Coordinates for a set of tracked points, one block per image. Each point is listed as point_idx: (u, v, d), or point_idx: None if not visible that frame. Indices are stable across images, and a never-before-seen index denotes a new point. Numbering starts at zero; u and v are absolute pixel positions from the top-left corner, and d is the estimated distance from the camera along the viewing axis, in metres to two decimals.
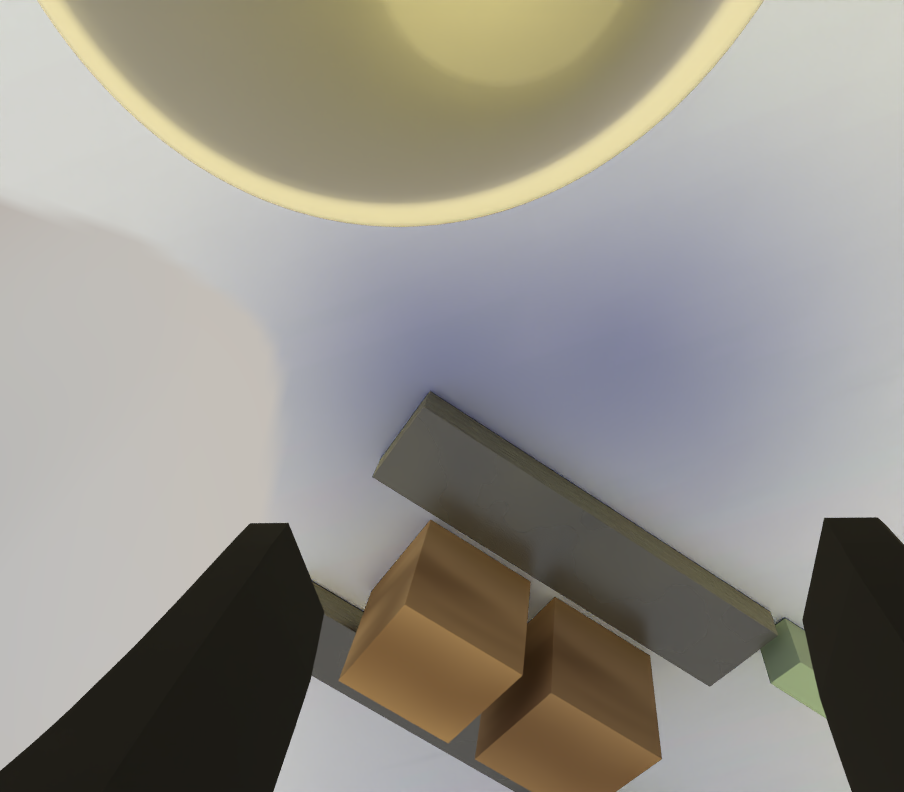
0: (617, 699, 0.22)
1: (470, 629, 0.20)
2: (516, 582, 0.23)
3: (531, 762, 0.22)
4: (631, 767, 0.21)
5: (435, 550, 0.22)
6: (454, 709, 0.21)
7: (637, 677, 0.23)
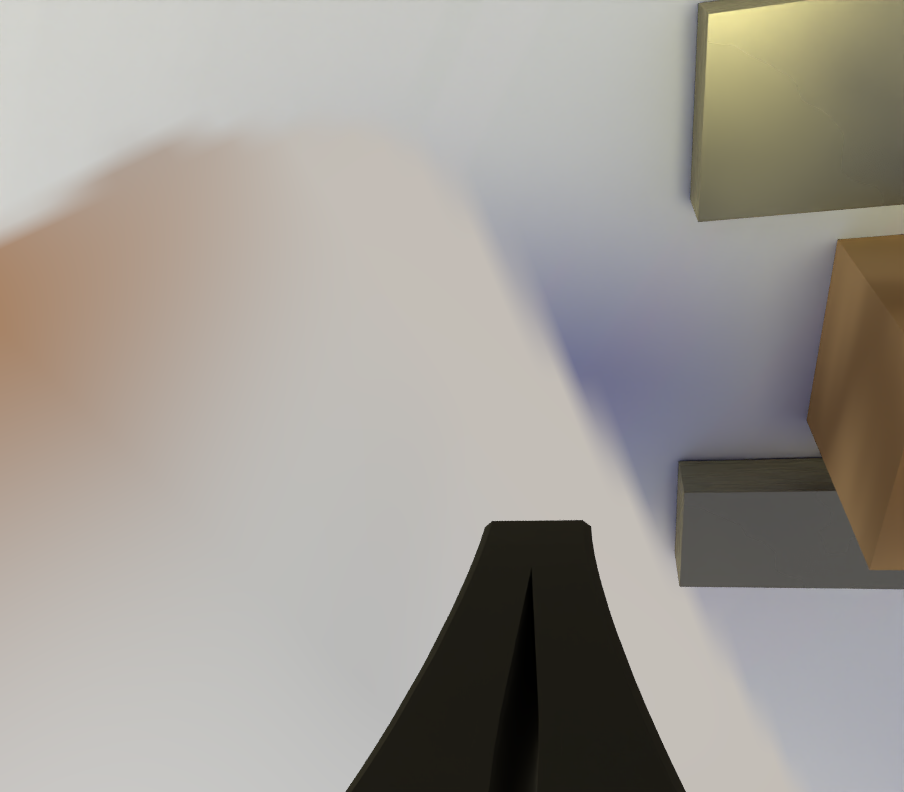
0: None
1: None
2: None
3: None
4: None
5: (891, 269, 0.11)
6: None
7: None
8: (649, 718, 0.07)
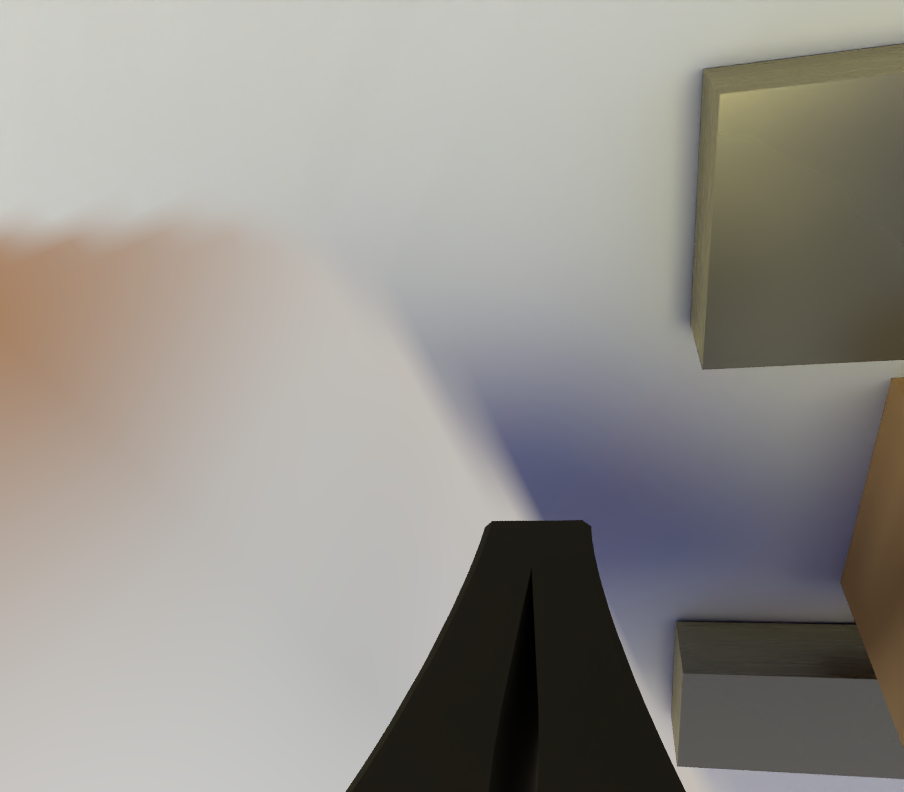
0: None
1: None
2: None
3: None
4: None
5: None
6: None
7: None
8: (650, 718, 0.07)
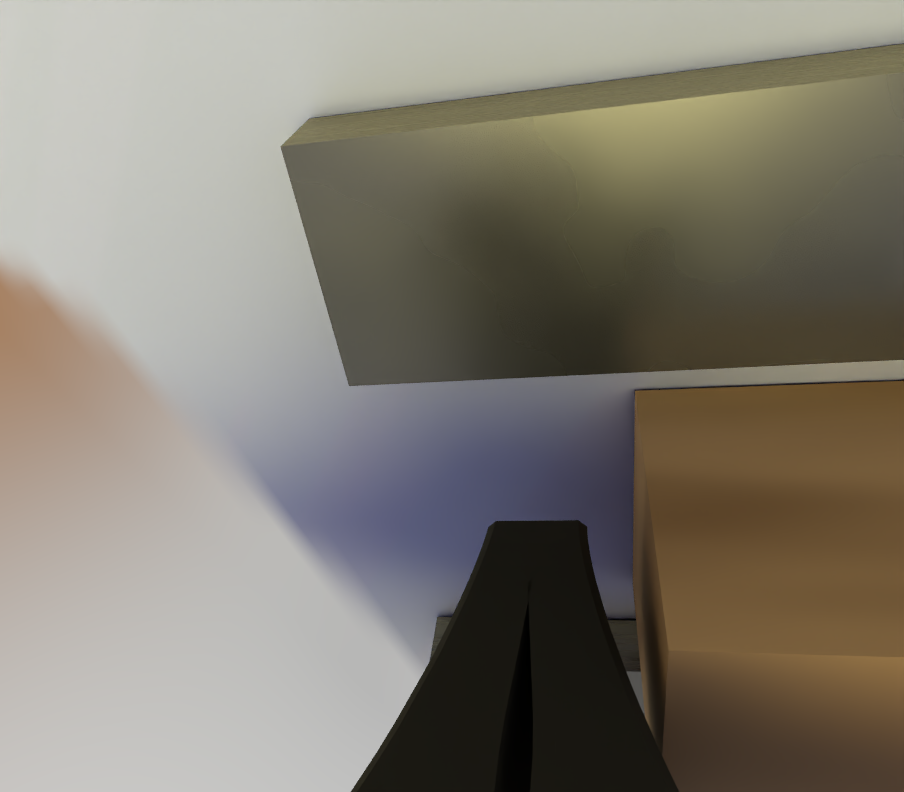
0: None
1: None
2: None
3: None
4: None
5: (682, 452, 0.08)
6: None
7: None
8: (643, 718, 0.07)
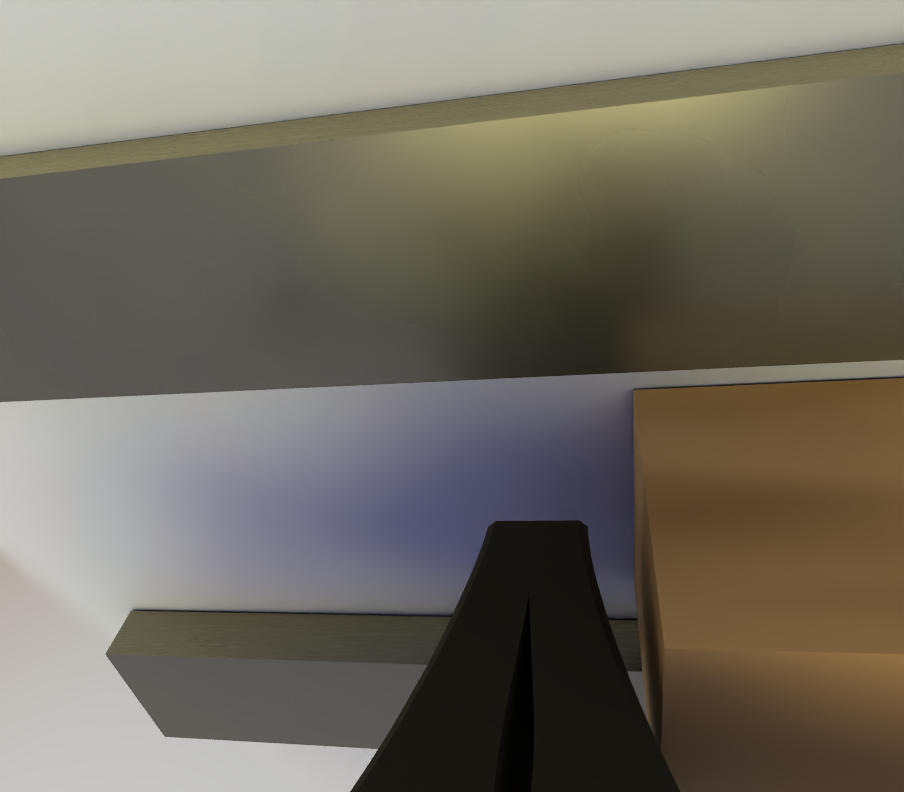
0: None
1: None
2: None
3: None
4: None
5: (680, 451, 0.08)
6: None
7: None
8: (645, 718, 0.07)
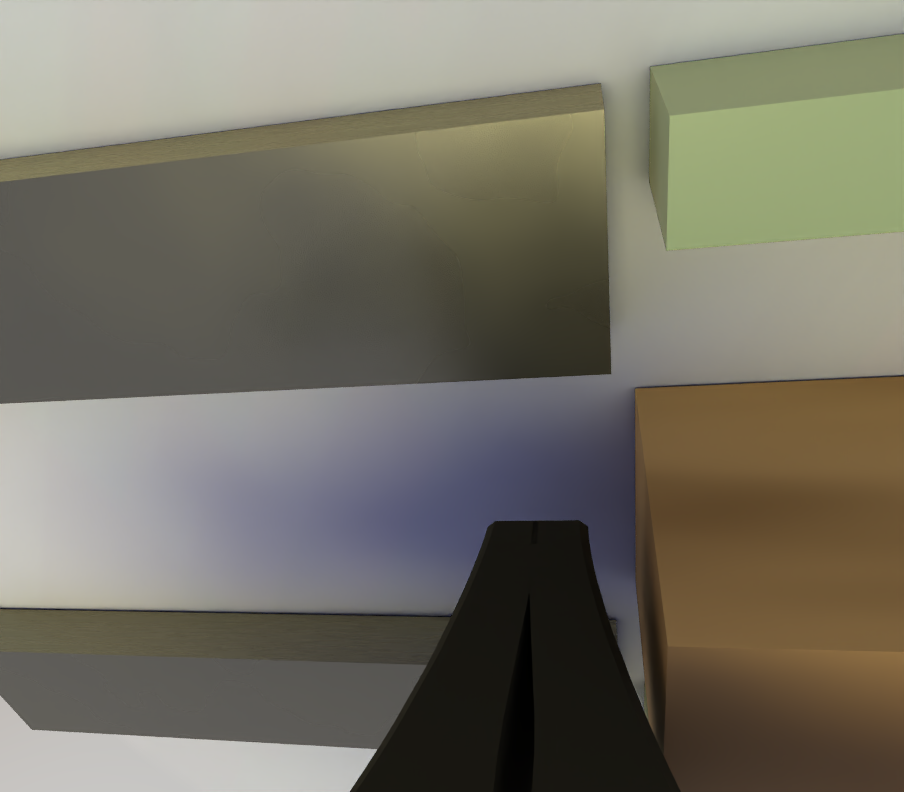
0: None
1: None
2: None
3: None
4: None
5: (682, 449, 0.08)
6: None
7: None
8: (645, 717, 0.07)
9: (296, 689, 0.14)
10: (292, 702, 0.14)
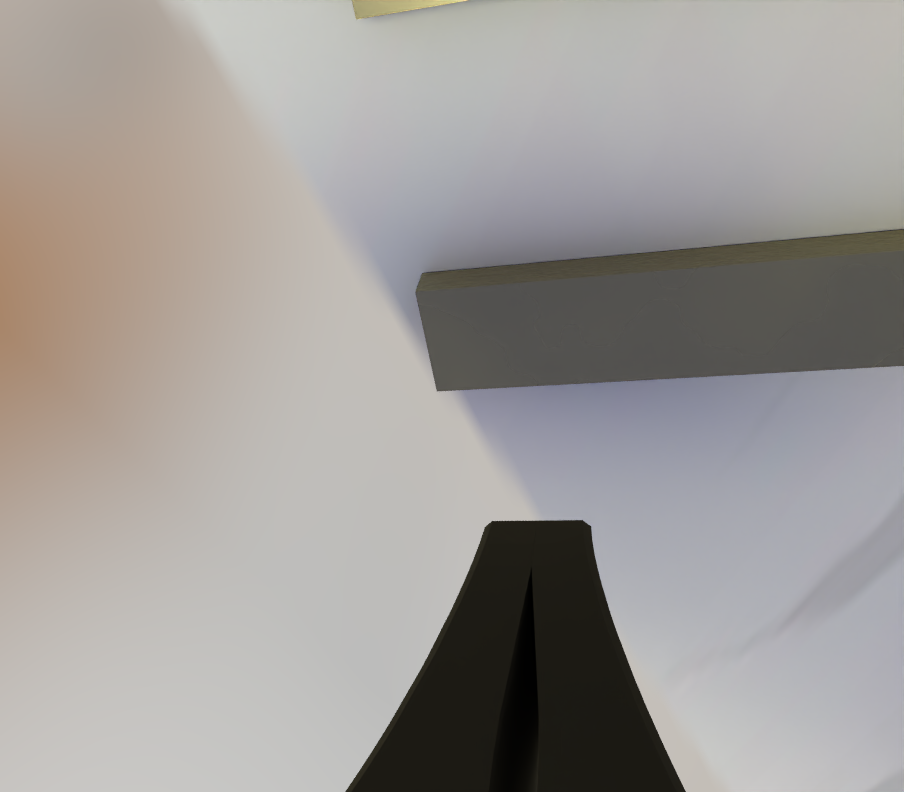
0: None
1: None
2: None
3: None
4: None
5: None
6: None
7: None
8: (650, 717, 0.07)
9: (715, 303, 0.16)
10: (706, 320, 0.17)
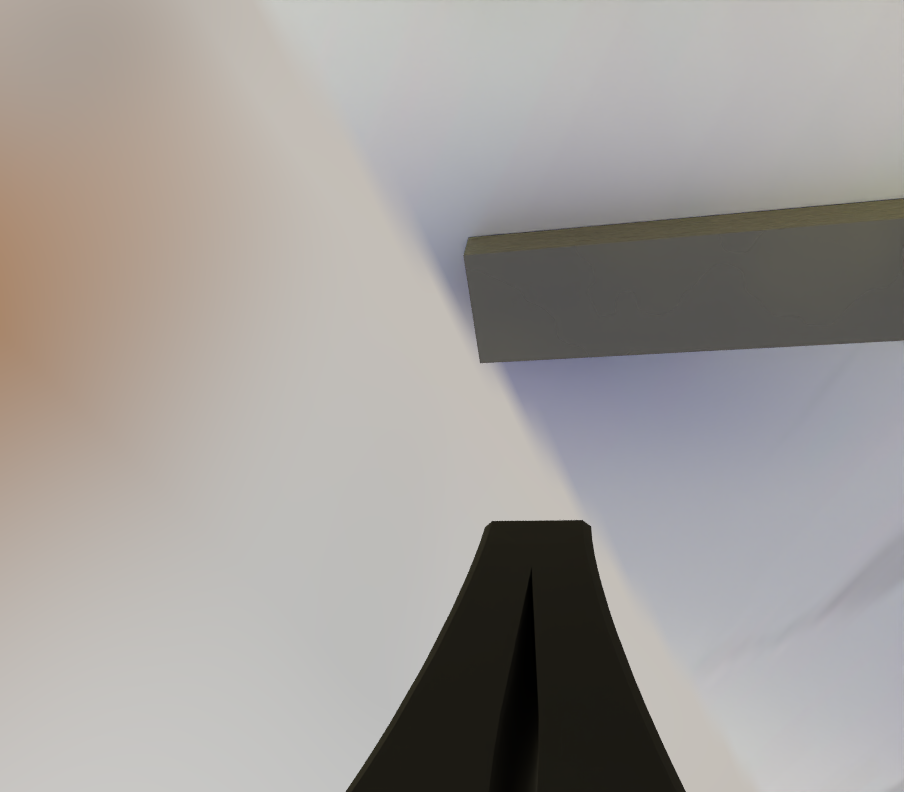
0: None
1: None
2: None
3: None
4: None
5: None
6: None
7: None
8: (650, 718, 0.07)
9: (782, 268, 0.16)
10: (770, 287, 0.16)
